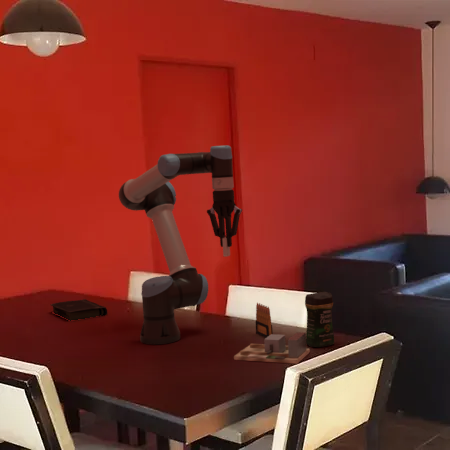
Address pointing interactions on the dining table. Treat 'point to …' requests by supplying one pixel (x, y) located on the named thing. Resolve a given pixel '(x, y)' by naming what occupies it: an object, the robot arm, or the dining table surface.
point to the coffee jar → (319, 319)
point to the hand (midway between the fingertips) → (226, 255)
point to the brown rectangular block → (297, 345)
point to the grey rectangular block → (275, 343)
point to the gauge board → (258, 354)
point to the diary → (78, 309)
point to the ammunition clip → (263, 321)
